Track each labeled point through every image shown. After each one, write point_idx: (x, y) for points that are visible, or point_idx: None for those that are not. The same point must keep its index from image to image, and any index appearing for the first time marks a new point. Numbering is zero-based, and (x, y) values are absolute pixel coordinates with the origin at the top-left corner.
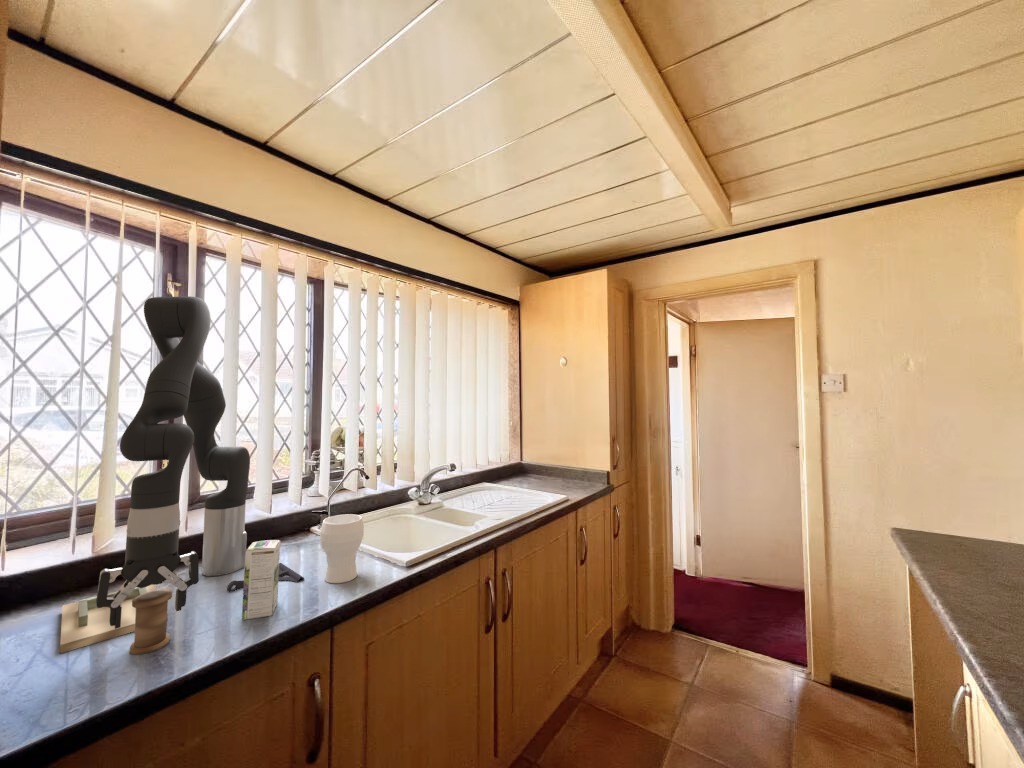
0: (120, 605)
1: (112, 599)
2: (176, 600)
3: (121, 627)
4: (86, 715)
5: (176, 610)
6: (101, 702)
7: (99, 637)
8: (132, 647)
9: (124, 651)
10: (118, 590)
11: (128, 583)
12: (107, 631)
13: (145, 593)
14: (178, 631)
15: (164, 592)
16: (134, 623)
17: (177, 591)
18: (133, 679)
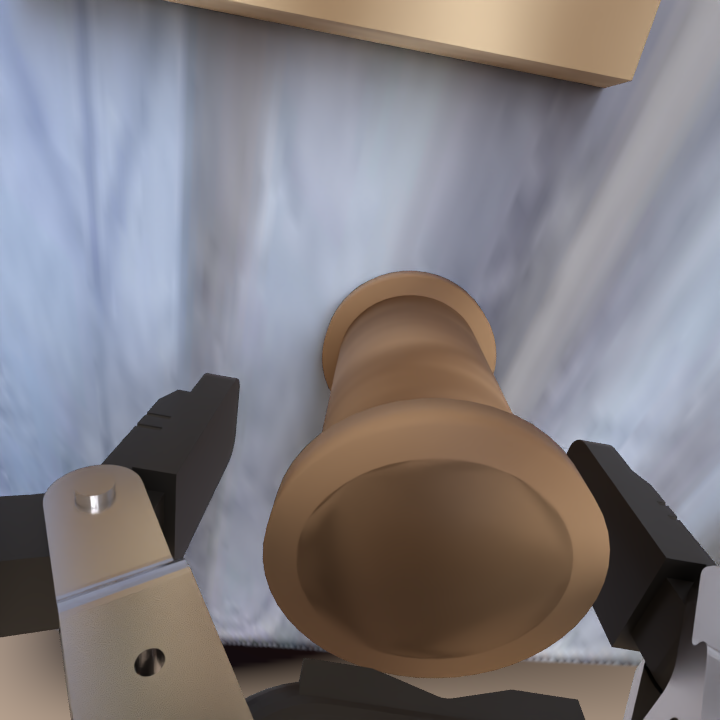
0: (167, 544)
1: (42, 628)
2: None
3: (341, 22)
4: None
5: None
6: None
7: (223, 3)
8: (331, 355)
9: (310, 306)
10: (56, 593)
11: (145, 665)
12: (259, 4)
13: (419, 439)
14: (557, 313)
15: (543, 574)
16: (421, 35)
17: (625, 623)
18: None
